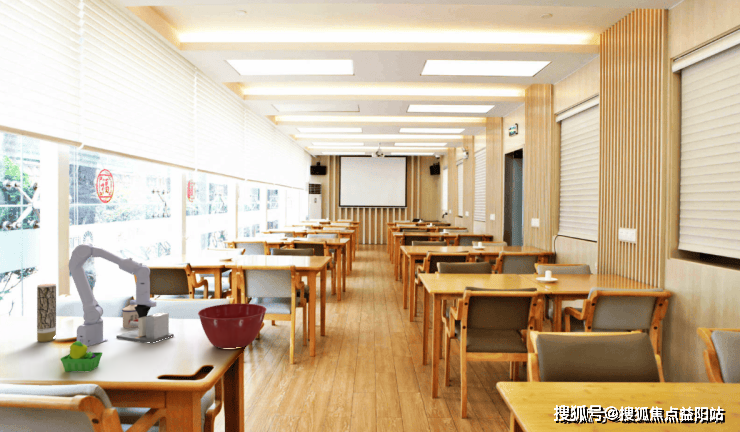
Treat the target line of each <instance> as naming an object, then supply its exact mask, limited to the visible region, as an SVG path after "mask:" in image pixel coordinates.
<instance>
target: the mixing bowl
mask: <svg viewBox="0 0 740 432" xmlns="http://www.w3.org/2000/svg"><path fill="white" fill-rule="evenodd" d="M266 312H267V308H266V307H265V306H263V305H260V304H254V303H242V302H241V303H223V304H218V305H217V304H215V305H212V306H207V307H204V308H202V309H201V310H199V311H198V312H197V315H198V316H199V321H200V323H201V327H202V330H203V332H204V335H205V336H206V338H207V339H208V341H209V343H210V344H211V345H212V346H214V347H216V348H217V347H219V348H236V347H243V348H246V347H248V346H249V345H250V344H251V343H253V341H255V340H256V338H257V336H258V335H259V332H260V330H261V327H262V326H263V321H264V318H265V315H266ZM245 346H246V347H245ZM219 348H218V349H219Z"/></svg>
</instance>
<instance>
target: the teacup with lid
mask: <svg viewBox="0 0 740 432" xmlns="http://www.w3.org/2000/svg"><path fill="white" fill-rule="evenodd" d="M136 306H137V305H133V304H132V305H130V304H129V305H128V306H126V307H124V308H122V328H124V329H125V328H126V329H133V328H138V326H133V325H130V324H129V323H130V322H131V321H133V322H138V318H139V316H138V313H137V311H136V310H135V307H136Z"/></svg>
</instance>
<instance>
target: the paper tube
mask: <svg viewBox="0 0 740 432" xmlns="http://www.w3.org/2000/svg"><path fill="white" fill-rule="evenodd" d="M36 289H37V291H36V295H37V296H36V306H37V307H36V315H37V316H36V317H37V318H36V333H37V334H36V341H37V342H38V343H44V342H45V343H47V342H52V341H54V340H53V337H54V336H55V335H56V336H57V283H43V284H42V283H41V284H37V287H36Z"/></svg>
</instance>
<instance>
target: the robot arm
mask: <svg viewBox="0 0 740 432" xmlns="http://www.w3.org/2000/svg"><path fill="white" fill-rule="evenodd" d="M89 258H102V259H103V260H106V261H107V262H111V263H113V264H116V265H118V268H119V269H120V270H122V271H123V272H126V273H128V274H130V275H133V276H134V275H135V277H136V281H135V282H136V283H135V299H131V300H130V299H129V305H132V304H133V305H137V306H136V307H135V310H136V311H137V313H138V316H139V318H141V317H145V316H148V313H149V312H150V310H151V308H154V307H155V308H156V307H157V301H153V300H152V299H151V281H150V280H151V279H150V275H151V269H150V267H149V266H147V265H145V264H143V263H142V262H140V263H139V262H137V261H135V260H133V258H132V257H123V258H122V257H120V256H118V255H116V254H114V253H112V252H110V251H109V250H107V249H104V248H102V247H100V246H97V245H93V244H92V243H89V242H85V243H81V244H78V245H77V246H76V247H75V248H74V249H73V251H72V252H71V255H70V259H69V262H68V265H67V267H68V270H69V272H70V274H71V277H72V280H73V283H74V284H75V288H76V291H77V293H78V295H79V298H80V301H81V303H82V311H83V317H82V318H83V320H84V321H83V323H82V324H81V325H78V326H77V328H76V341H80V342H81V343H82V344H84V345H86V346H87V347H90V346H93V345H97V344H100V343H103V342H107V341H108V338H104V319H103V318H102V316H103V314H104V309H103V307H102V306H100V305H99V302H98V301H97V299H96V297H95V295H94V292H93V289H92V286H91V285H90V282H89V280H88V277H87V274H86V272H85V268H84V267H83V266H84V265H85V263H86V262H87V260H88V259H89Z"/></svg>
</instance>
